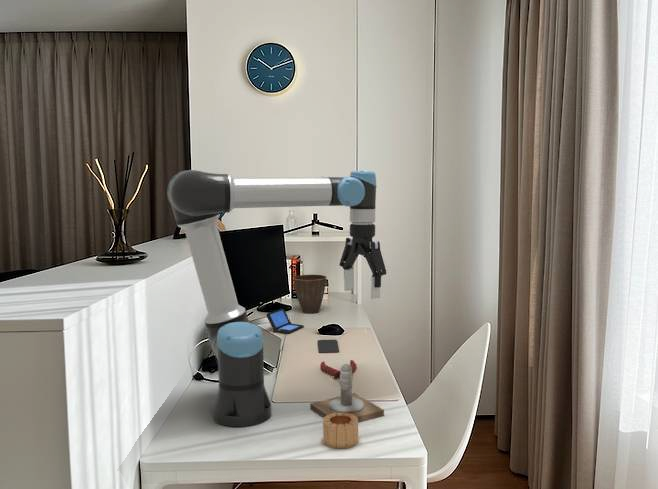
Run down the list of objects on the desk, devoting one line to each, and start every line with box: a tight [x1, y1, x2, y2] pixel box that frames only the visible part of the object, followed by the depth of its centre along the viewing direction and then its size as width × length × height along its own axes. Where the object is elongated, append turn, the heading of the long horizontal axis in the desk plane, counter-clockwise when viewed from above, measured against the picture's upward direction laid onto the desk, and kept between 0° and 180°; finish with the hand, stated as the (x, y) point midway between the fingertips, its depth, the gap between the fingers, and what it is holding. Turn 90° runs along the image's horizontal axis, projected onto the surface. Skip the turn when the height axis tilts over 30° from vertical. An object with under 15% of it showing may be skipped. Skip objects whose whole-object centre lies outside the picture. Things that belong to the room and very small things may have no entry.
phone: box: [317, 339, 340, 354], centre depth 213 cm, size 7×1×15 cm
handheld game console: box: [266, 308, 305, 335], centre depth 237 cm, size 12×11×7 cm
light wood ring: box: [322, 413, 359, 449], centre depth 138 cm, size 8×8×5 cm
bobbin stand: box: [309, 363, 385, 423], centre depth 154 cm, size 14×14×13 cm
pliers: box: [320, 359, 357, 384], centre depth 182 cm, size 12×20×3 cm, turn 8°
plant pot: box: [292, 274, 327, 314], centre depth 266 cm, size 15×15×16 cm
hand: (361, 294), depth 175 cm, fingers open, 13 cm apart
